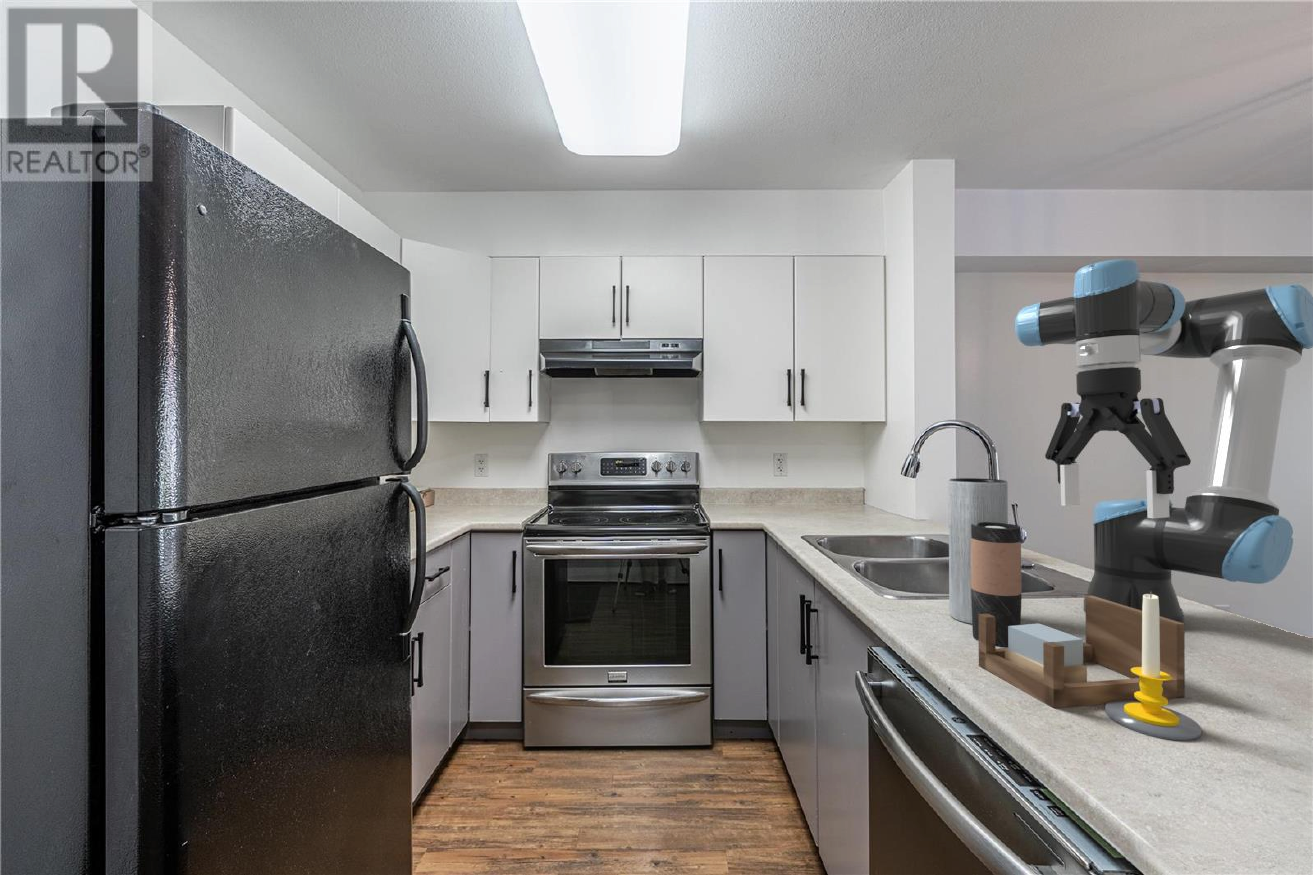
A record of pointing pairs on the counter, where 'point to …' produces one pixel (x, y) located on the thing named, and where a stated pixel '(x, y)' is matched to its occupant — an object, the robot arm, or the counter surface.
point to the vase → (968, 507)
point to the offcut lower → (1070, 672)
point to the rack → (1093, 658)
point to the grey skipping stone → (1181, 732)
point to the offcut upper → (1031, 640)
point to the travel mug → (996, 576)
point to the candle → (1151, 672)
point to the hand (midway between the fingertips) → (1111, 511)
